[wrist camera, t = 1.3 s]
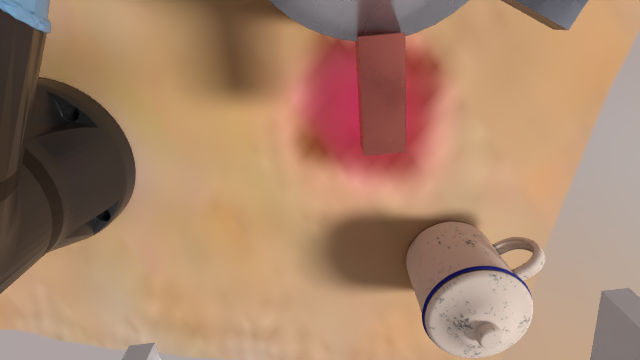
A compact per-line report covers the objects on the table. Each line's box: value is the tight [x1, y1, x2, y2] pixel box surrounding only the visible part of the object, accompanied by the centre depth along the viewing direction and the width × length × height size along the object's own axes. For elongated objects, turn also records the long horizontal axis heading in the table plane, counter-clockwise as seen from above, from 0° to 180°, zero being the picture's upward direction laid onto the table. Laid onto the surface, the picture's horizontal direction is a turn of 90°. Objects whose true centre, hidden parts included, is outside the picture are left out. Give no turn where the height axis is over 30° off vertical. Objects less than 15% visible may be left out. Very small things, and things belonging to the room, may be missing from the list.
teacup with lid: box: [406, 222, 545, 358], centre depth 36 cm, size 12×9×12 cm
